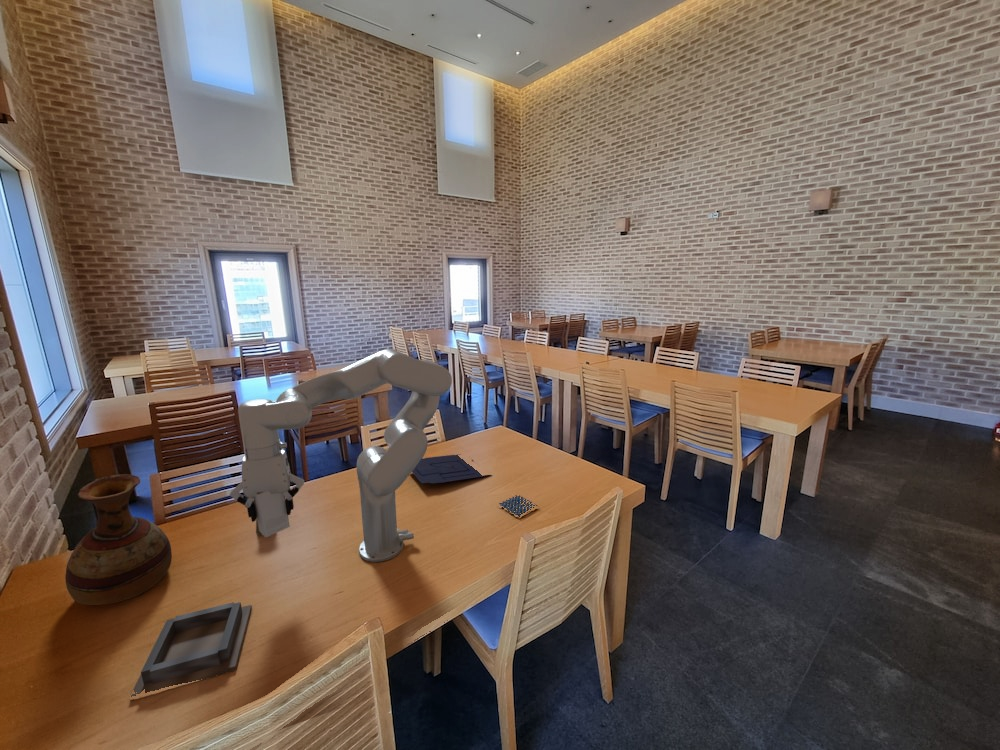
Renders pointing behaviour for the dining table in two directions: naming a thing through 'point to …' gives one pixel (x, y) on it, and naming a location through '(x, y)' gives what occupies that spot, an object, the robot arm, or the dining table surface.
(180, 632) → the socket stand
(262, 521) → the skincare box
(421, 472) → the navy folded cloth
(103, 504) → the painted clay vase
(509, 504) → the woven mat
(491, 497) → the dining table surface
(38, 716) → the dining table surface
